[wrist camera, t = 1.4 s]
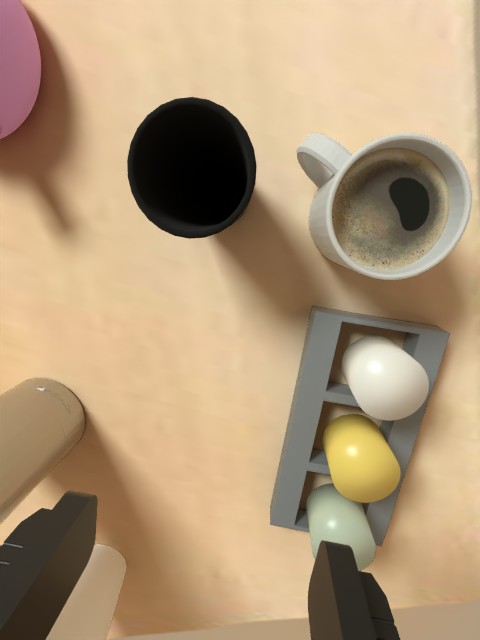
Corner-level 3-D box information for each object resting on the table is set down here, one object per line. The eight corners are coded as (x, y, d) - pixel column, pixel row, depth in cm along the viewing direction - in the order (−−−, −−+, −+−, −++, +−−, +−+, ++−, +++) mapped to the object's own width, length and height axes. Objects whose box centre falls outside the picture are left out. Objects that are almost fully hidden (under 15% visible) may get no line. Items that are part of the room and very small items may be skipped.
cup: (275, 171, 31) (278, 132, 19) (240, 250, 32) (224, 258, 21) (197, 135, 30) (152, 72, 19) (167, 216, 32) (109, 206, 21)
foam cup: (151, 558, 43) (101, 694, 30) (119, 603, 45) (61, 747, 32) (84, 521, 42) (5, 644, 29) (56, 569, 44) (-29, 701, 32)
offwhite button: (395, 397, 32) (417, 426, 27) (335, 386, 32) (347, 413, 27) (411, 341, 30) (438, 361, 26) (349, 330, 31) (363, 348, 26)
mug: (412, 257, 31) (476, 266, 22) (308, 276, 32) (325, 293, 23) (402, 130, 29) (469, 77, 19) (291, 155, 30) (301, 117, 20)
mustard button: (373, 469, 34) (390, 508, 29) (317, 458, 34) (325, 495, 29) (387, 419, 32) (408, 451, 28) (329, 409, 33) (339, 439, 28)
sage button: (354, 533, 36) (367, 579, 31) (301, 522, 36) (306, 567, 31) (367, 489, 34) (383, 530, 30) (312, 478, 35) (319, 518, 30)
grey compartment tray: (374, 526, 39) (381, 546, 36) (270, 507, 39) (270, 524, 37) (436, 326, 33) (450, 333, 30) (312, 306, 33) (315, 311, 31)
